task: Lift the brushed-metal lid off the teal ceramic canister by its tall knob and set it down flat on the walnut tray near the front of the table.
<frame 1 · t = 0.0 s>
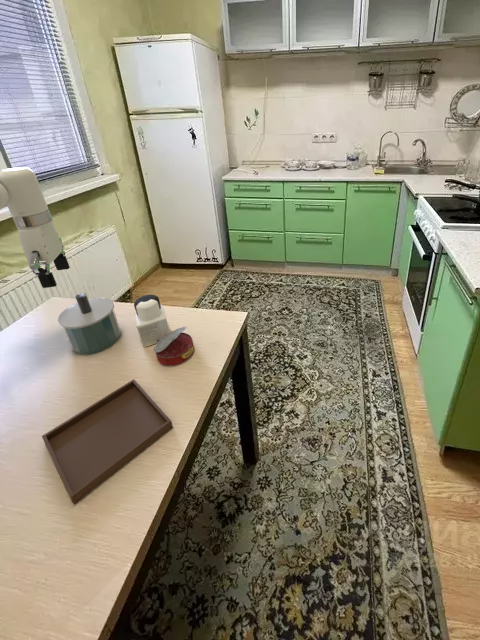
hand: (57, 277, 89), 19 cm above the table, tool pointing down, fingers open, 9 cm apart
canister: (97, 339, 95), on the table
tray: (110, 434, 68), on the table
canned food: (175, 353, 89), on the table
container: (155, 336, 96), on the table
lid: (87, 312, 91), point 9 cm above the table, touching canister
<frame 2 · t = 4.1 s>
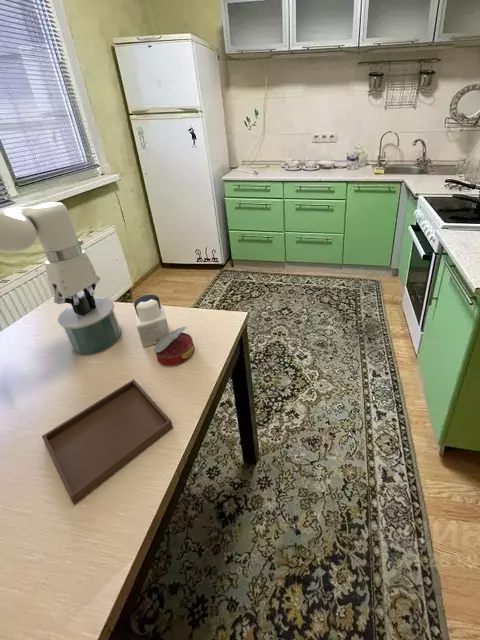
hand: (86, 310, 90), 10 cm above the table, tool pointing down, fingers closed on lid, 2 cm apart
lid: (87, 312, 91), point 10 cm above the table, touching canister, gripper
everything else where it was.
when the fingers open (2 cm above the table, at t = 13.6 s): lid stays where it is, resting on tray.
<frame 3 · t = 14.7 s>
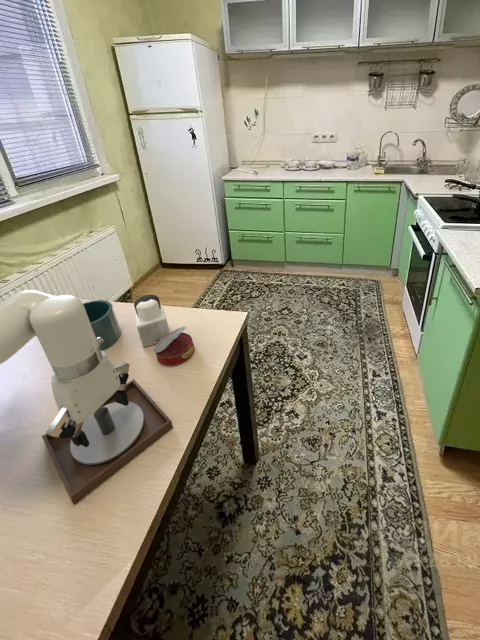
hand: (104, 422, 66), 4 cm above the table, tool pointing down, fingers open, 9 cm apart
lid: (109, 431, 67), point 1 cm above the table, touching tray
everything else where it was.
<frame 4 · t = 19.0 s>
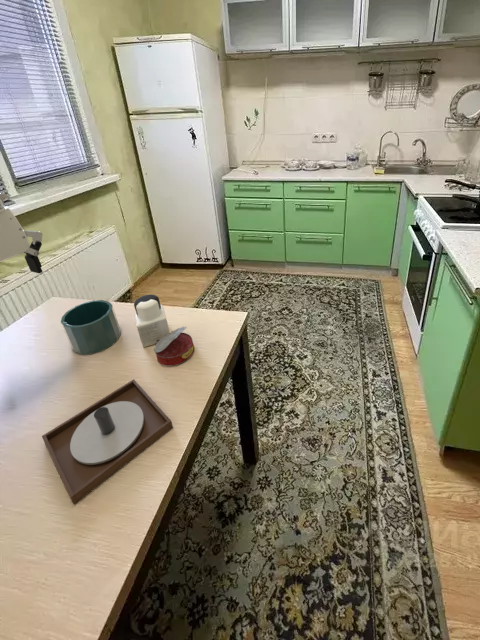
hand: (14, 282, 69), 28 cm above the table, tool pointing down, fingers open, 9 cm apart
nothing on the table moved.
at the end: lid inside the target area in the tray (0.1 cm from its centre), point 1.2 cm above the tray's base; lid tilted 0°; the gripper is holding nothing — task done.
